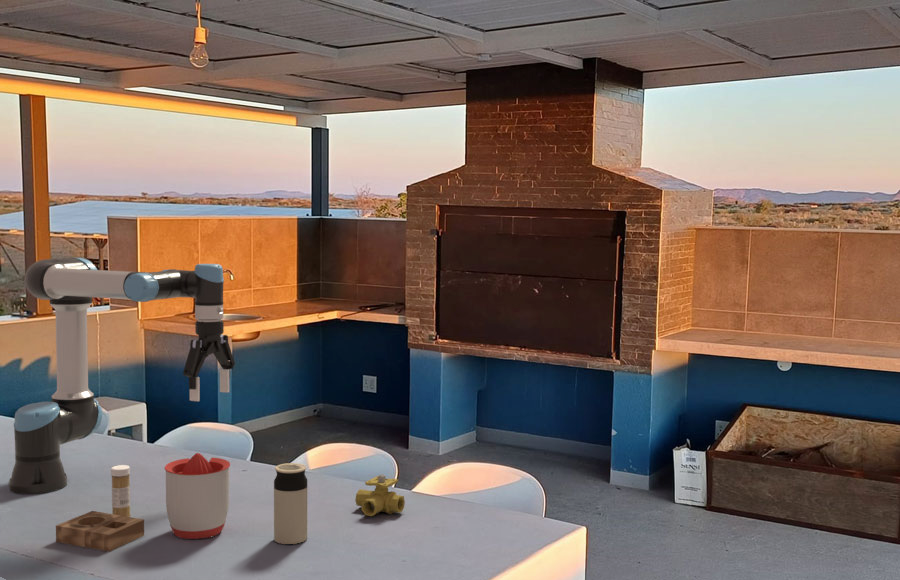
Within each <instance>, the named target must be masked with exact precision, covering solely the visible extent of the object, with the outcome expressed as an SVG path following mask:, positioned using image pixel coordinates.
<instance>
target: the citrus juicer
mask: <svg viewBox="0 0 900 580" xmlns="http://www.w3.org/2000/svg"><path fill="white" fill-rule="evenodd" d="M230 466H231V462H230V461H229V460H226V459H223V458H220V457H211V458H210V459H209V461H208V460H207V458H206V457H204V455H202V454H201V453H199V452H196V453H195V454H194V455H193V456H192V457H190V458H181V459H176V460H173V461H171V462H169V463H167V464H166V465H164V471H165V503H166V505H165V506H166V513H167V517H168V518H167V519H168V521H169V525H170V528H171V531H172V533H173V535H175V536H176V537H178V538H179V537H180V538H179V539H182V538H184V539H187V540H188V539H190V540H193V539H195V540H196V539H197V540H198V539H207V538H212V537H211V536H213V537H215V536H216V535H218V534H220V533H221V532H222V530H223V529H224V526H225V524H226V521H227V520H226V519H227V516H228V512H229V505H230Z"/></svg>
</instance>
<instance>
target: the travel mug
mask: <svg viewBox="0 0 900 580" xmlns="http://www.w3.org/2000/svg"><path fill="white" fill-rule="evenodd" d="M274 470H275V472H276V476H275V478H274V480H273V540H274V542H275V543H278V544H280V543H281V545H285V544H293V545H298V544H297V543H299V544H301V542H302V543H304V542H305V541H306V540H308V478H307V476H306V470H307V466H306V465H305V464H302V463H300V462H299V463H297V462H296V463H295V462H289V463H287V462H286V463H281V464H278V465H277V466H275V467H274Z"/></svg>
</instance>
